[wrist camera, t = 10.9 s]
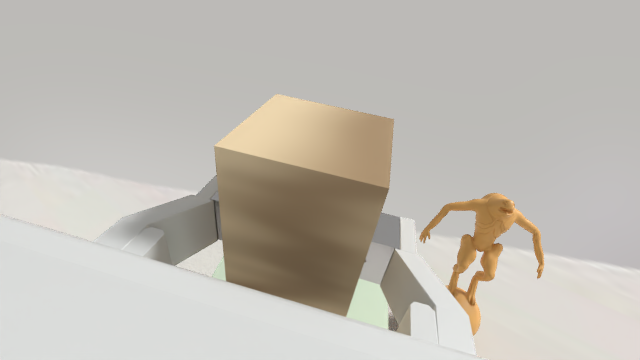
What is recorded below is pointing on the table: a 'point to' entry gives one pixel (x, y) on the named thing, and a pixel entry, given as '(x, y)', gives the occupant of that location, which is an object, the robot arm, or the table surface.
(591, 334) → the table surface
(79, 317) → the robot arm
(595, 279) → the table surface
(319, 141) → the oak post
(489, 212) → the figurine
